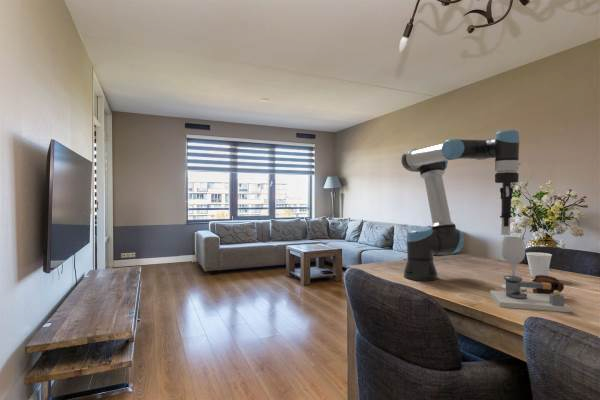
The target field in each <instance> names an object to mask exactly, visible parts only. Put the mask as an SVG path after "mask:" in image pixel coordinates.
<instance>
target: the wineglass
mask: <svg viewBox="0 0 600 400" xmlns="http://www.w3.org/2000/svg"><path fill="white" fill-rule="evenodd" d="M525 255H526V248H525V242H524V239H523V237H522V236H521V237H520V236H504V237H503V239H502V242H501V256H502V258H503V259H504V260H505V262H507V263H508V264H510V267H511V276H516V274H515V273H516V271H515V270H516V266H517V264H519V263H521V262H523V260H524V259H525ZM501 288H502V289H505V290H506V283H504V284H502V285H501ZM526 290H527V287H520V292H524V291H526Z"/></svg>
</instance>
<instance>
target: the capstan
mask: <svg viewBox="0 0 600 400" xmlns="http://www.w3.org/2000/svg"><path fill="white" fill-rule="evenodd" d="M503 279H504V280H505V284H506V289H505V291H506V296H508V297H512V298H518V299H525V298H527V294H526V293H527V292H524V291H520V287H525V288H529V289H530V288H531V289H535V288H542V289H551V284H550V283H543V282H541V283H538V282H532V281H523V277H522V276H517V275H515V276H512V274H511V275H503Z"/></svg>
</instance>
